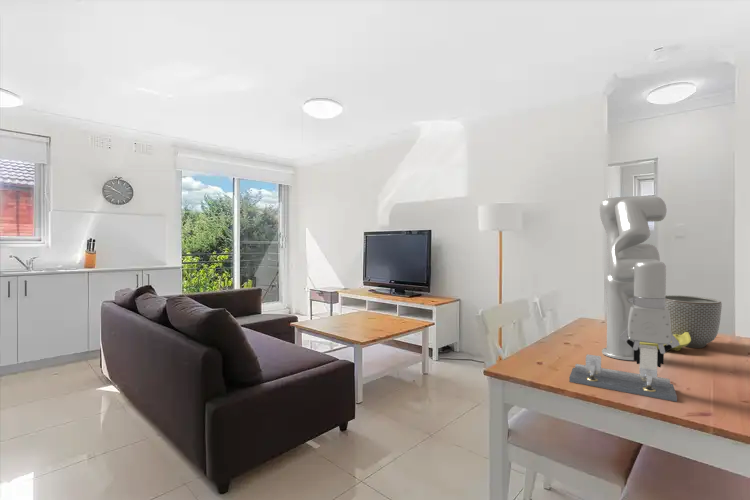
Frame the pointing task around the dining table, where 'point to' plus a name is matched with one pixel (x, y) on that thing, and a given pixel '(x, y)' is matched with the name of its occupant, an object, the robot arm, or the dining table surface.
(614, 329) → the robot arm
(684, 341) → the plastic component
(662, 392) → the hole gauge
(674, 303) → the planter
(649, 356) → the grey block with peg
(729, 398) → the dining table surface
